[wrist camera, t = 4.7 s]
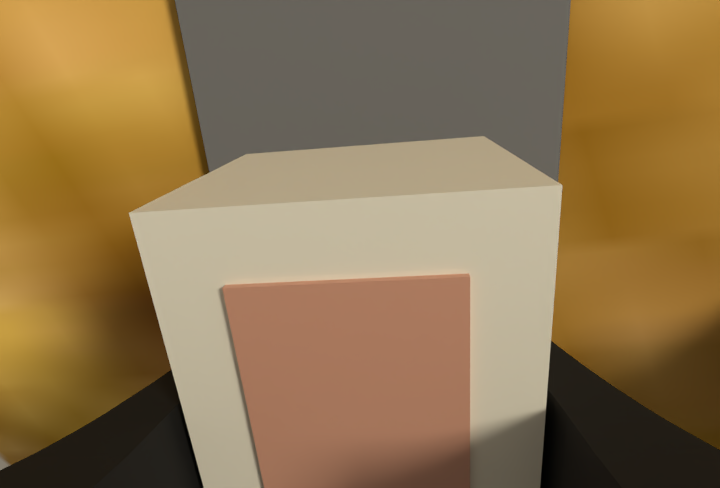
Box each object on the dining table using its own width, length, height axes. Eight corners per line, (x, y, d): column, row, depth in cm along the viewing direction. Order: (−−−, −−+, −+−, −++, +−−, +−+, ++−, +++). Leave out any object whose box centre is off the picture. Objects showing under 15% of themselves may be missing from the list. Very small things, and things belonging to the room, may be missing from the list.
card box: (246, 154, 10) (123, 215, 5) (483, 136, 9) (566, 186, 5) (300, 472, 13) (251, 676, 8) (480, 471, 12) (527, 688, 8)
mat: (571, -101, 14) (578, -107, 13) (524, 614, 25) (527, 625, 25) (170, -51, 15) (163, -55, 14) (301, 609, 27) (299, 618, 26)
